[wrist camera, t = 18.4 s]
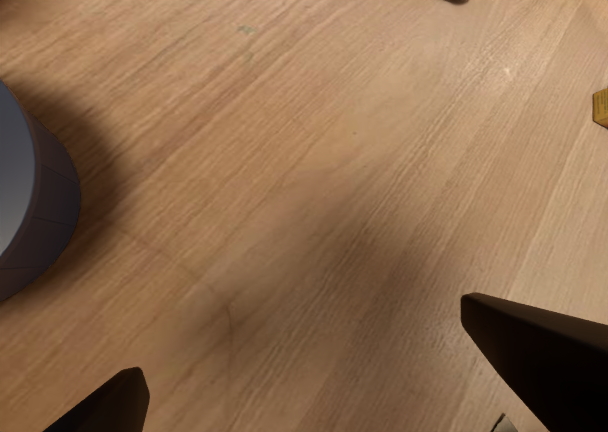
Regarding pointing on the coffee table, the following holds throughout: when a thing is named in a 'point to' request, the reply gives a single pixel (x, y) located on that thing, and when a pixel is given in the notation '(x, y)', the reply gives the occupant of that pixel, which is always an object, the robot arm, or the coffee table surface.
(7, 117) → the peg on round base
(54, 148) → the tin
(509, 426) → the condiment
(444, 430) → the coffee table surface
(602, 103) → the candy box
